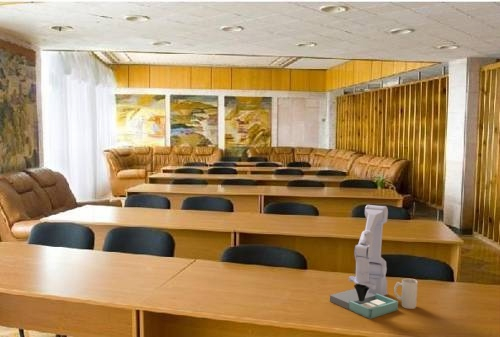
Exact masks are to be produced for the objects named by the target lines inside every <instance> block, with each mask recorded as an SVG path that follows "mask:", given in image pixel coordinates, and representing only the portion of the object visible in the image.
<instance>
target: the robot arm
mask: <svg viewBox="0 0 500 337" xmlns="http://www.w3.org/2000/svg"><path fill="white" fill-rule="evenodd" d="M388 210H389V209H388V207H387V205H374V204H373V205H372V204H366V206H365V207H364V216H365V219H366V222H365V229H364V230H363V231H362V232H361V234H360V237H359V241H358V244H355V246H354V251H353V252H354V253H353V254H354V260H355V276H354V275H351V276H350V275H349V276H348V282H352V283H354V285H353V287H354V289H356V291H357V294H358V298H359V301H364V299H365V296H366V293H367V292H369V293H371V294H374V295H375V294H376V293H377V294H380V295H382V296H386V295H389V292H388V280H387V277H386V274H387V270H388V268H387V261H386V260H385V259H384V258H383V257H382V244H383V242H382V241H383V231H384V230H383V227H384V224H386V223H387V222H388V216H389V211H388Z"/></svg>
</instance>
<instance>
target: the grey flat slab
mask: <svg viewBox="0 0 500 337" xmlns="http://www.w3.org/2000/svg"><path fill="white" fill-rule="evenodd" d="M373 300H375V295H374V294H371V293H369V292H367V293H366V296H365V299H364V301H359V298H358V294H357V291H356V289H355V288H352V289H349V290H346V291H345V290H344V291H341V292H337V293H333V294H330V295H329V302H330V303H333V304H335V305H337V306H340V307H342V308H344V309H346V310H348V311H350V310H349V301H353V302H355V303H358V304H364V303H368V302H370V301H373Z"/></svg>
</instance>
